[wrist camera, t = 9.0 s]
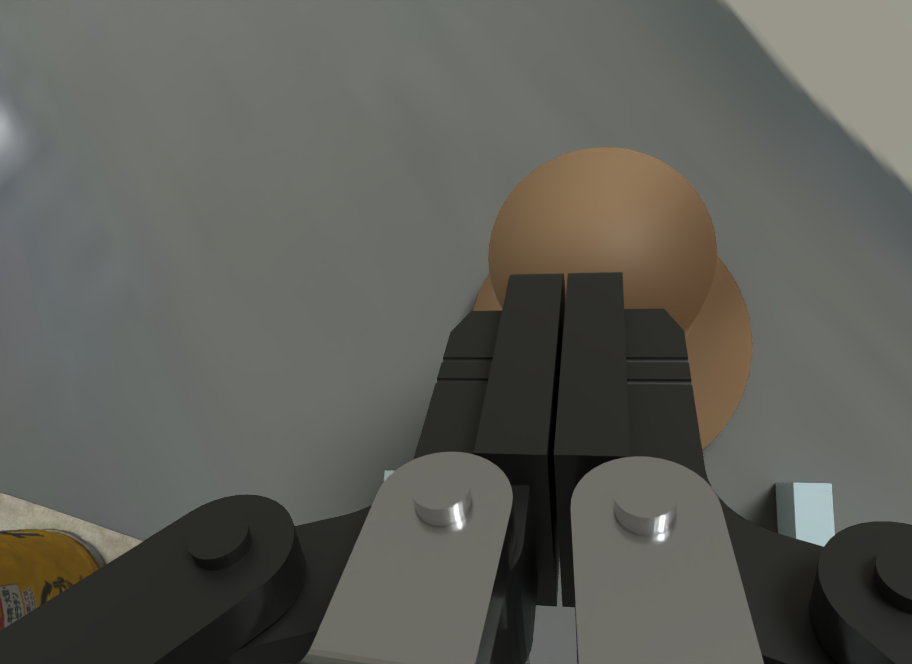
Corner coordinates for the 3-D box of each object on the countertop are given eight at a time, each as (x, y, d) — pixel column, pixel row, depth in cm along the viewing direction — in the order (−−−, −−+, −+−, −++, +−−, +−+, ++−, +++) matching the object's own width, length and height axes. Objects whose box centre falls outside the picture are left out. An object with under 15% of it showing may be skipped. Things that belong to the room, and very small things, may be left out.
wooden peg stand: (424, 330, 27) (304, 231, 17) (623, 170, 27) (628, -33, 16) (586, 539, 25) (565, 579, 14) (807, 366, 25) (953, 276, 14)
